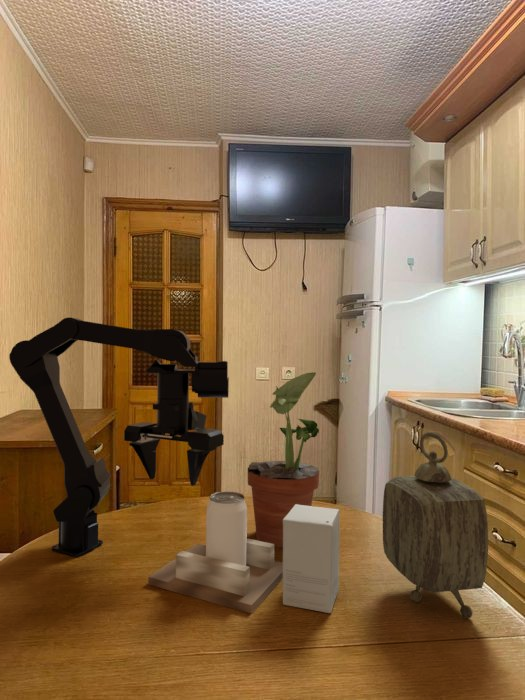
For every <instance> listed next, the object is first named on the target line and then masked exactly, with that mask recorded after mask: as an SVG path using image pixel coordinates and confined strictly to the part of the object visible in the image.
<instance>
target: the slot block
mask: <svg viewBox="0 0 525 700" xmlns="http://www.w3.org/2000/svg"><path fill="white" fill-rule="evenodd" d="M281 581H283V562H280V561H276V560H275V546H274V544H271V543H267V542H262V541H259V540H258V539H251V538H247V547H246V566H244V565H240V564H235V563H231V562H227V561H223V560H219V559H214V558H210V557H206V544H205V545H204V544H200V543H195V544H194V545H193V546H191V547H190V548H188V549H187V550H185V551H184V550H181V551H179V552H178V553H177V554H176V555H175V558H174V559H173V560H171V561H169V562H168V563H166V564H165V565H164V566H162V567H160V568H159V569H157V570H156V571H155V572H153V573H151V574H150V575H148V576H147V585H148V586H153V587H157V588H160V589H163V590H167V591H169V592H170V591H171V592H174V593H177V594H180V595H184V596H188V597H192V598H195V599H198V600H202V601H206V602H209V603H211V604H216V605H219V606H223V607H226V608H231V609H234V610H237V611H240V612H245V613H248V614H251V615H252V614H253V613H254V612H255V611H256V610H257V609H258V607H259V606H260V605H261V604H262V603H263V602H264V600H266V598H267V597H268V596H269V595H270V594H271V592H272V591H273V590H274V589H275V588H277V586H278V584H279V583H280V582H281Z"/></svg>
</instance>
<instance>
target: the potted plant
mask: <svg viewBox="0 0 525 700" xmlns="http://www.w3.org/2000/svg"><path fill="white" fill-rule="evenodd" d="M316 374H317V372H305V373H303V374H300V375H298V376H296V377H294V378H292V379H290V380H288V381H286V382H284V384H283V385H281V386H280V387H277V386H275V387H276V389H275V390H274V392H273V393H272V395H273V396H275V398H274V400H273V401H272V402H271V403H270V406H269V409H270V408H273V410H274V411H275V412H276V413H277V414H278V415H279V414H280V415H285V419H286V427H279V430H280V431H281V433H282V434H283V435H284V436H285V443H284V444H285V450H284V451H285V455H284V457H285V458H284V459H285V460H271V461H267V460H266V461H260V462H257V461H256V462H252V461H251V463H250V464H249V465H248V467H247V485H248V486H250V487H251V495H252V496H251V497H252V505H253V513H254V514H253V515H254V523H255V525H254V526H255V535H256V540H257V541H262V542H267V543H271V544H274V547H283V519H284V518H285V516H286V515H287V514H288V513H289V512H290V511H291V509H292V508H293V507H294V506H295V504H298V505H306V506H312V505H313V504H312V503H313V498H314V491H315V490H317V489H318V488H319V484H320V470H319V469H318V467H315V466H313V465H311V464H307V463H305V462H304V463H303V462H301V456H302V453H303V447H304V443H307V441H308V440H309V439H311V438H316V437H317V436H318V434H319V432H320V429H319V428H318V423H317V422H316V421H314V420H310V419H303V418H298V419H297V420H299V421H300V422H301V423H302V424H303V425H304V426H303V427H301V426H300V425H299V424H297V425H296V428H292V424H291V419H290V411H291V410H293V408H294V407H295V406H296V405H297V403H298V402H299V400H300V398H301V397H302V395H303V393H304V392H305V390H306V389H307V388H308V386H309V385H310V383H312V381H313V379H314V378H315V377H316ZM295 433H296V435H295V438H296V440H297V441H300V440H301V443H300V446H299V452H298V455H297V458H296V460H295V454H294V443H293V441H294V440H293V434H295ZM310 434H311V435H310Z"/></svg>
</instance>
